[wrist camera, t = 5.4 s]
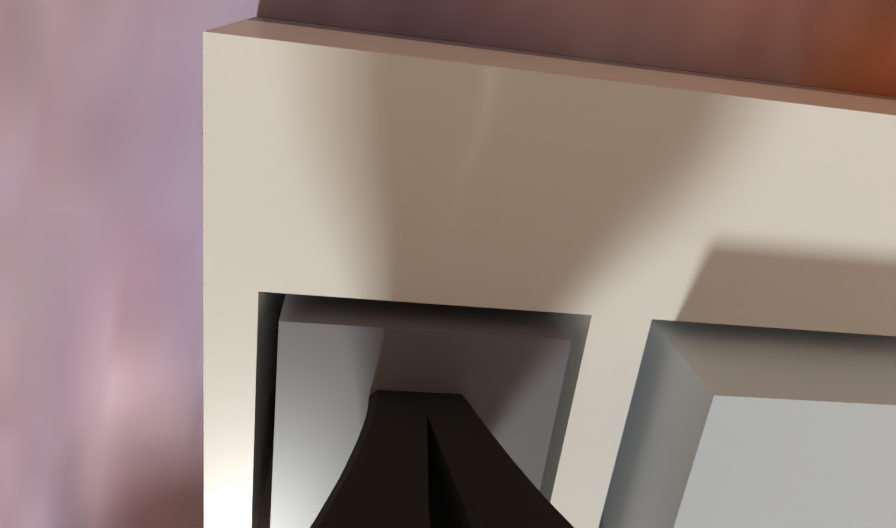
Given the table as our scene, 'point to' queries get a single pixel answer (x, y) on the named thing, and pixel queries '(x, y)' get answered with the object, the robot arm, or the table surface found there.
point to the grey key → (757, 431)
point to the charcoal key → (404, 382)
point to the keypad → (521, 216)
